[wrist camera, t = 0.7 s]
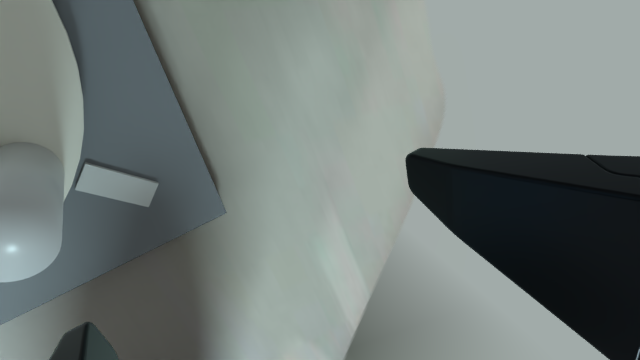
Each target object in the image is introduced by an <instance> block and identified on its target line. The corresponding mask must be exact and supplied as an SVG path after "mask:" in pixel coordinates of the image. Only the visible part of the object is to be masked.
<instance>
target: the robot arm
mask: <svg viewBox="0 0 640 360" xmlns="http://www.w3.org/2000/svg"><path fill="white" fill-rule="evenodd" d="M406 169H407V177H408V184H409V187H410V189H411V191H412V193H413V194H414V195H415V196H416V197H417V198H418V199H419V200H420V201H421V202H422V203H423V204H424V205H425V206H426V207H427V208H428V209H429V210H430V211H431V212H432V213H433V214H434V215H435V216H436V217H437V218H438V219H439V220H440V221H441V222H442V223H443V224H444V225H445V226H446V227H447V228H448V229H449V230H450V231H452V232H453V233H454V234H455V235H456V236H457V237H458V238H459V239H461V240H462V241H463V242H464V243H465V244H467V245H468V246H469V247H470V248H472V249H473V250H474V251H475V252H477V253H478V254H479V255H480V256H482V257H483V258H484V259H485V260H487V261H488V262H489V263H490V264H492V265H493V266H494V267H495V268H497V269H498V270H499V271H500V272H502V273H503V274H504V275H505V276H506V277H508V278H509V279H510V280H511V281H513V282H514V283H515V284H516V285H518V286H519V287H520V288H521V289H523V290H524V291H525V292H526V293H528V294H529V295H530V296H531V297H533V298H534V299H535V300H536V301H538V302H539V303H540V304H541V305H543V306H544V307H545V308H546V309H547V310H549V311H550V312H551V313H552V314H554V315H555V316H556V317H557V318H559V319H560V320H561V321H562V322H564V323H565V324H566V325H567V326H569V327H570V328H571V329H572V330H574V331H575V332H576V333H578V334H579V335H580V336H581V337H582V338H583V339H585V340H586V341H587V342H589V343H590V344H591V345H592V346H593V347H595V348H596V349H597V350H598V351H600V352H601V353H602V354H604V355H605V356H606V357H607V358H608V359H610V360H640V157H639V156H637V157H636V156H606V155H587V156H584V155H581V154H557V153H533V152H510V151H509V152H508V151H486V150H463V149H439V148H438V149H437V148H419V149H417V150H415V151H413V152H412V153H410V154H408V155H407V156H406ZM49 360H119V359H118V357H117V354H116V352H115V350H114V349H113V347H112V346H111V345H110V344H109V342H108V341H107V340H106V339H105V337H104V336H103V335H102V334H101V333H100V331H99V330H98V329H97V328H96V326H95V325H94V324H92V323H91V322H86V323H83V324H82V325H80V326H78V327H76V328H74V329H72V330H70V331H68V332H67V333H65V334H64V336H63V337H62V339H61V340H60V342H59V344H58V346H57V347H56V349H55V351H54V352H53V354H52V356H51V357H50V359H49Z"/></svg>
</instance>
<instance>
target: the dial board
mask: <svg viewBox="0 0 640 360" xmlns="http://www.w3.org/2000/svg"><path fill="white" fill-rule="evenodd" d="M52 1H53V3H54V5H55V7H56V10H57V12H58V14H59V16H60V18H61V20H62V22H63V25H64V27H65V29H66V31H67V33H68V36H69V39H70V43H71V46H72V49H73V52H74V55H75V58H76V61H77V64H78V70H79V76H80V82H81V88H82V93H83V109H84V134H83V141H82V148H81V155H80V160H79V164H78V167H77V170H76V173H75V177H74V180H73V183H72V186H71V188H70V190H69V192H68V194H67V196H66V198H65V200H64V202H63V226H62V244H61V248H60V251H59V253H58V255H57V257H56V258H55V260H54V261H53V262H52V263H51V264H50V265H49V266H48V267H47V268H46V269H44V270H43V271H41V272H40V273H38V274H36V275H34V276H32V277H29V278H26V279H23V280H19V281H13V282H0V325H1V324H3V323H5V322H7V321H9V320H11V319H13V318H15V317H17V316H19V315H22V314H24V313H26V312H28V311H30V310H32V309H34V308H36V307H38V306H40V305H42V304H44V303H46V302H48V301H50V300H52V299H54V298H56V297H58V296H60V295H62V294H64V293H66V292H68V291H70V290H72V289H74V288H76V287H78V286H80V285H82V284H84V283H86V282H88V281H90V280H92V279H94V278H96V277H98V276H100V275H102V274H104V273H106V272H108V271H110V270H112V269H114V268H116V267H118V266H120V265H122V264H124V263H126V262H128V261H130V260H132V259H134V258H136V257H138V256H140V255H142V254H144V253H146V252H148V251H150V250H153V249H155V248H157V247H159V246H161V245H163V244H165V243H167V242H169V241H171V240H173V239H175V238H177V237H179V236H181V235H183V234H185V233H187V232H189V231H191V230H193V229H195V228H197V227H199V226H201V225H203V224H205V223H207V222H209V221H211V220H213V219H215V218H217V217H219V216H221V215H223V214H225V213H227V212H226V210H225V208H224V206H223V203H222V201H221V199H220V196H219V194H218V192H217V190H216V187H215V185H214V183H213V181H212V178H211V176H210V174H209V172H208V169H207V167H206V165H205V162H204V160H203V158H202V156H201V153H200V151H199V149H198V147H197V144H196V142H195V140H194V138H193V135H192V133H191V131H190V128H189V126H188V124H187V122H186V119H185V117H184V115H183V113H182V110H181V108H180V106H179V104H178V101H177V99H176V97H175V95H174V92H173V90H172V88H171V85H170V83H169V81H168V79H167V76H166V74H165V72H164V70H163V67H162V65H161V63H160V61H159V58H158V56H157V54H156V51H155V49H154V47H153V45H152V42H151V40H150V38H149V36H148V33H147V31H146V29H145V27H144V24H143V22H142V20H141V17H140V15H139V13H138V11H137V8H136V6H135V4H134V2H133V0H52Z"/></svg>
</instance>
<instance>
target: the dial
mask: <svg viewBox="0 0 640 360" xmlns="http://www.w3.org/2000/svg"><path fill="white" fill-rule="evenodd" d="M83 134H84V109H83V93H82V88H81V82H80V76H79V70H78V64H77V61H76V58H75V55H74V52H73V49H72V46H71V43H70V39H69V36H68V33H67V31H66V29H65V27H64V25H63V22H62V20H61V18H60V16H59V14H58V12H57V10H56V7H55V5H54V3H53V1H52V0H0V282H13V281H19V280H23V279H26V278H29V277H32V276H34V275H36V274H38V273H40V272H41V271H43V270H44V269H46V268H47V267H48V266H49V265H50V264H51V263H52V262H53V261H54V260H55V258H56V257H57V255H58V253H59V251H60V248H61V244H62V226H63V202H64V200H65V198H66V196H67V194H68V192H69V190H70V188H71V186H72V183H73V180H74V177H75V173H76V170H77V167H78V164H79V160H80V155H81V148H82V141H83Z"/></svg>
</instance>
